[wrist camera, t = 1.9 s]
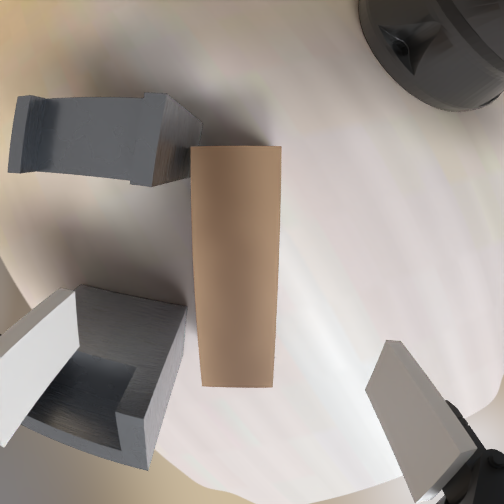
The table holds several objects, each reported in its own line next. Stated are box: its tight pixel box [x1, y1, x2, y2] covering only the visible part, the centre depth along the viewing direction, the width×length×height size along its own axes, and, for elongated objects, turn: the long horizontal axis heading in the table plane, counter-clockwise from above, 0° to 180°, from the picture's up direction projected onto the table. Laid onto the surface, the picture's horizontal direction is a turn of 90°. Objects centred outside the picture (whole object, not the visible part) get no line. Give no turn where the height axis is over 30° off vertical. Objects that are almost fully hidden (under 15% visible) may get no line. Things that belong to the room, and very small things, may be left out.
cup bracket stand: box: [8, 93, 203, 471], centre depth 18 cm, size 10×20×13 cm, turn 170°
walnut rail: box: [191, 146, 281, 388], centre depth 22 cm, size 5×16×6 cm, turn 179°
